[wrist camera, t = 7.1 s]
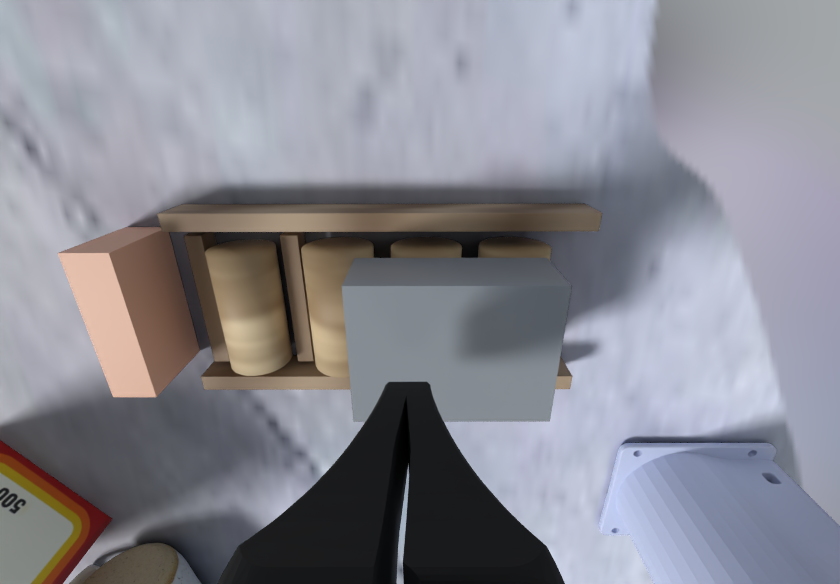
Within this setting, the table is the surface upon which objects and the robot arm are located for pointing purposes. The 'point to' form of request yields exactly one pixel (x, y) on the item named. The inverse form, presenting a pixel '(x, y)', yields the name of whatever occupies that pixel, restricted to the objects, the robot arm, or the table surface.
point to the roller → (250, 305)
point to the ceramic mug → (141, 568)
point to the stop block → (133, 308)
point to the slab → (457, 333)
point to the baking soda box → (41, 523)
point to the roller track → (348, 267)
